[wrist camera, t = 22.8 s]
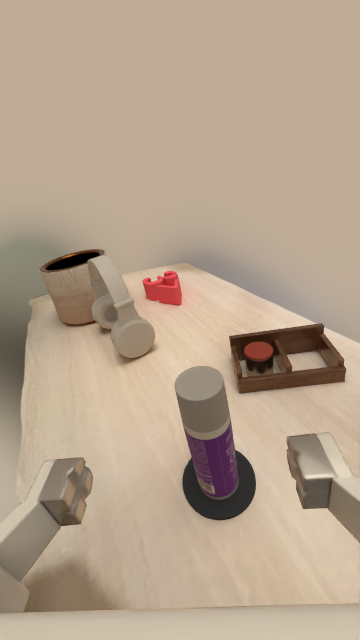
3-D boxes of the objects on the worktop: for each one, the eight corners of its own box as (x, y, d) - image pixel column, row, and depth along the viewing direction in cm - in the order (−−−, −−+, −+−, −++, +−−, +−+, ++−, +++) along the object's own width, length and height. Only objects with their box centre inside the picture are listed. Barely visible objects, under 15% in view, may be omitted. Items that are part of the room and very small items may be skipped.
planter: (64, 334, 71) (37, 278, 64) (60, 310, 86) (38, 262, 78) (129, 311, 76) (111, 256, 69) (115, 292, 91) (99, 244, 83)
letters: (195, 298, 75) (192, 281, 73) (162, 311, 72) (157, 294, 70) (174, 284, 87) (171, 269, 85) (144, 295, 84) (140, 280, 82)
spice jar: (275, 363, 47) (274, 342, 45) (272, 382, 44) (271, 359, 42) (248, 361, 49) (246, 340, 47) (243, 378, 46) (241, 357, 44)
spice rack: (344, 381, 41) (348, 354, 39) (239, 393, 43) (236, 368, 41) (320, 347, 49) (322, 323, 47) (231, 358, 51) (229, 335, 48)
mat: (260, 455, 34) (260, 454, 34) (248, 531, 27) (248, 530, 27) (196, 441, 37) (195, 439, 37) (172, 505, 31) (171, 504, 31)
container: (244, 494, 30) (231, 394, 23) (202, 504, 30) (176, 407, 23) (232, 455, 34) (218, 360, 27) (195, 464, 34) (171, 371, 27)
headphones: (160, 348, 58) (136, 259, 48) (123, 366, 55) (89, 275, 45) (127, 316, 74) (104, 244, 64) (97, 329, 71) (68, 256, 61)
